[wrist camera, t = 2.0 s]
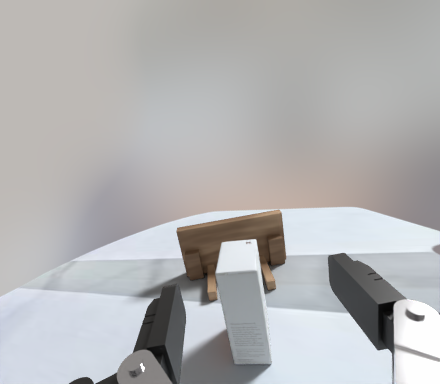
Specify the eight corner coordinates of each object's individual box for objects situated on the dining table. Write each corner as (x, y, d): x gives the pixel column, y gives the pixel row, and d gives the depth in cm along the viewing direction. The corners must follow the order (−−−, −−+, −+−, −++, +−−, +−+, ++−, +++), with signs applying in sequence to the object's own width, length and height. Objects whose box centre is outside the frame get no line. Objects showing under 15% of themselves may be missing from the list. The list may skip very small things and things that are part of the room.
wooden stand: (301, 284, 36) (296, 230, 33) (184, 305, 35) (170, 253, 33) (283, 254, 44) (278, 209, 41) (188, 271, 44) (177, 227, 41)
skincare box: (236, 320, 31) (221, 240, 28) (268, 319, 31) (257, 237, 27) (232, 367, 26) (213, 273, 22) (272, 366, 25) (259, 270, 21)
